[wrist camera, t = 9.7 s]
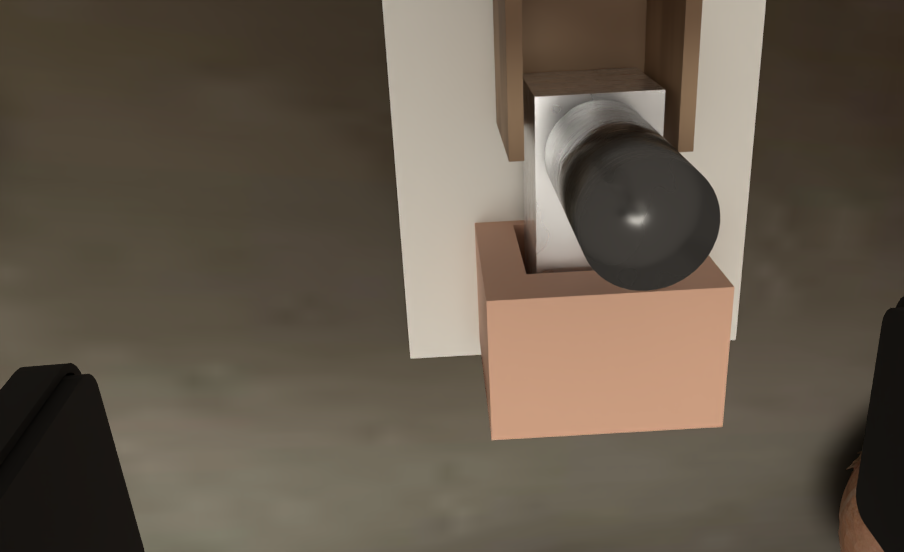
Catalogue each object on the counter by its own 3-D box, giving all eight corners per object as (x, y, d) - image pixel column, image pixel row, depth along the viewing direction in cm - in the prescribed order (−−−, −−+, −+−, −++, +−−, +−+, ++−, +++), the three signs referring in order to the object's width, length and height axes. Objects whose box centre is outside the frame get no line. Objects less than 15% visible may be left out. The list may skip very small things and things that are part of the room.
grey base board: (370, -161, 30) (369, -164, 29) (771, -183, 30) (782, -186, 29) (410, 347, 38) (410, 358, 37) (728, 329, 38) (735, 339, 37)
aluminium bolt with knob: (521, 74, 31) (567, 154, 21) (636, 67, 31) (738, 144, 21) (525, 320, 35) (566, 489, 25) (627, 314, 35) (710, 480, 25)
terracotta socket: (474, 222, 34) (486, 301, 28) (673, 211, 34) (734, 286, 28) (479, 340, 37) (491, 440, 30) (666, 329, 37) (722, 426, 30)
